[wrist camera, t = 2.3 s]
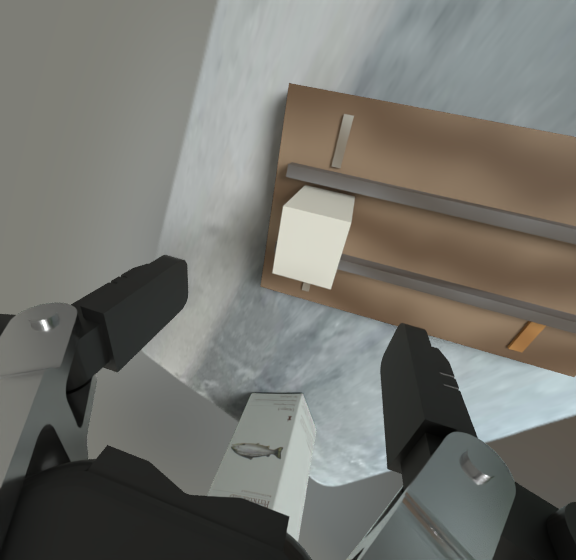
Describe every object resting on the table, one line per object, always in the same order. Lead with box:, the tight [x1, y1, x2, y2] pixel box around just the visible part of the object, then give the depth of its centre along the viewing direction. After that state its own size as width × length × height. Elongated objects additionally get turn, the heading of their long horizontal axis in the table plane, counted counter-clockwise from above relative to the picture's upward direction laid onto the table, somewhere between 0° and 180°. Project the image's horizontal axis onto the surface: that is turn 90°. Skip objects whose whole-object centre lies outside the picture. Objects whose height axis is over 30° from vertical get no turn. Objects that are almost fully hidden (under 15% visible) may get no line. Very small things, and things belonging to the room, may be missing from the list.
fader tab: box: [272, 185, 355, 289], centre depth 17 cm, size 4×4×6 cm
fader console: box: [261, 83, 576, 377], centre depth 19 cm, size 15×26×3 cm, turn 80°
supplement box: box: [207, 393, 316, 542], centre depth 30 cm, size 7×7×13 cm
